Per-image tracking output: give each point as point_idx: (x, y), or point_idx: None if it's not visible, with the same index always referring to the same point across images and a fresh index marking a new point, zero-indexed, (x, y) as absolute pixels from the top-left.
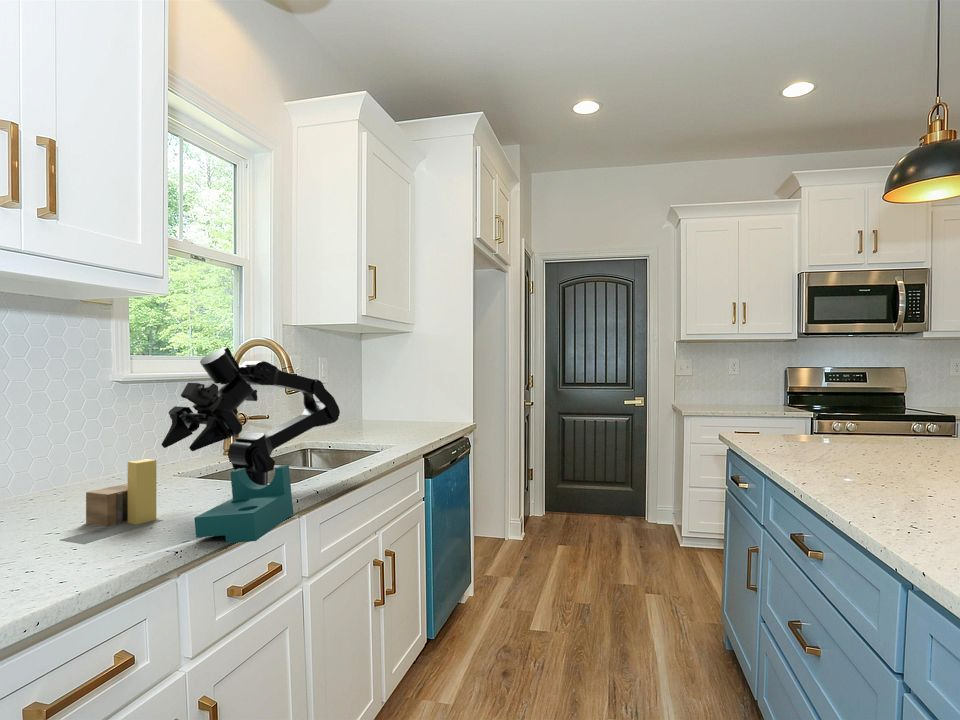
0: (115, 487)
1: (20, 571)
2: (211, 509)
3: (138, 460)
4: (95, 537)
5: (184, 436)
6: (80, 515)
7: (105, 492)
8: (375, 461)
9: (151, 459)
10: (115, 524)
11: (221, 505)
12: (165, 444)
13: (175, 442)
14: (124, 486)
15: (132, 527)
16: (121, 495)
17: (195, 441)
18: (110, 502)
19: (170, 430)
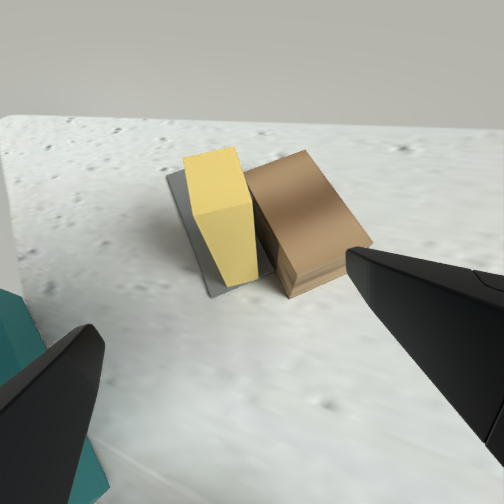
0: (320, 198)
1: (126, 125)
2: (4, 338)
3: (238, 173)
4: (188, 190)
5: (488, 434)
6: (386, 200)
7: (270, 173)
8: None
9: (224, 207)
10: None
11: (9, 375)
12: (354, 267)
13: (393, 335)
14: (320, 215)
15: (203, 240)
16: None
17: (36, 360)
18: None
19: (469, 279)
